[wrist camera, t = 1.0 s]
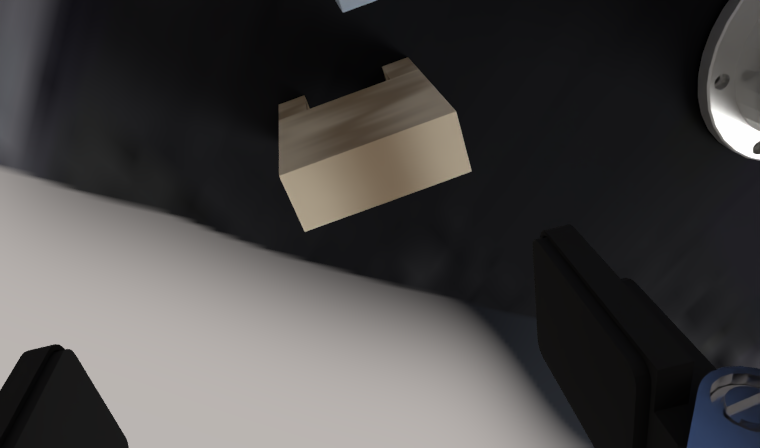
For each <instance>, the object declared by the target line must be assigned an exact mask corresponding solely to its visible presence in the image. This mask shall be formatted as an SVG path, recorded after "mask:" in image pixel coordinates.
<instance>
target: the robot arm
mask: <svg viewBox="0 0 760 448" xmlns="http://www.w3.org/2000/svg"><path fill="white" fill-rule="evenodd" d="M698 100H699V106H700V111H701V115H702V117H703V119H704V122H705V124H706V126H707V128H708V130H709V131H710V132H711V134H712V135H713V136H714V137H715V138H716V140H717V141H718V142H720V143H721V144H723V145H724V146H725V147H727V148H728V149H730V150H732V151H734V152H736V153H738V154H740V155H742V156H744V157H746V158H749V159H754V160H758V161H760V0H729V1H728V2H727V4H726V5H725V6H724V8H723V9H722V11H721V13H720V15H719V17H718V19H717V21H716V22H715V24H714V26H713V28H712V30H711V32H710V35H709V37H708V40H707V43H706V46H705V48H704V51H703V54H702V59H701V64H700V69H699V74H698ZM533 262H534V280H535V299H536V318H537V335H538V344H539V348H540V351H541V354H542V356H543V358H544V360H545V362H546V363H547V365H548V367H549V369H550V370H551V372H552V374H553V376H554V377H555V379H556V381H557V383H558V384H559V386H560V388H561V390H562V391H563V393H564V395H565V397H566V398H567V400H568V402H569V404H570V405H571V407H572V409H573V411H574V412H575V414H576V416H577V418H578V419H579V421H580V423H581V425H582V426H583V428H584V430H585V432H586V433H587V435H588V437H589V439H590V440H591V442H592V444H593V446H594V447H595V448H760V369H757V368H751V367H743V366H733V367H723V368H720V369H716V368H715V367H714V366H713V365H712V364H711V363H710V362H709V361H708V360H707V359H706V358H705V356H704V355H703V354H702V353H701V352H700V351H699V350H698V349H697V348H696V347H695V346H694V345H693V344H692V343H691V341H690V340H689V339H688V338H687V337H686V336H685V335H684V334H683V333H682V332H681V331H680V330H679V329H678V328H677V326H676V325H675V324H674V323H673V322H672V321H671V320H670V319H669V318H668V317H667V316H666V315H665V314H664V313H663V311H662V310H661V309H660V308H659V307H658V306H657V305H656V304H655V303H654V302H653V301H652V300H651V299H650V298H649V297H648V295H647V294H646V293H645V292H644V291H643V290H642V289H641V288H640V287H639V286H638V285H637V284H636V283H635V282H634V281H633V280H631V279H628V278H623V279H620V278H619V277H618V276H617V275H616V274H615V272H614V271H613V270H612V269H611V268H610V267H609V266H608V265H607V264H606V263H605V261H604V260H603V259H602V258H601V257H600V256H599V255H598V254H597V253H596V251H595V250H594V249H593V248H592V247H591V246H590V245H589V244H588V243H587V241H586V240H585V239H584V238H583V237H582V236H581V235H580V234H579V233H578V231H577V230H576V229H575V228H574V227H573V226H571V225H565V226H561V227H556V228H552V229H548V230H543V231H542V232H541V235H540V239H536V240H534V241H533ZM0 448H128V442H127V439H126V437H125V436H124V434H123V432H122V431H121V429H120V428H119V426H118V424H117V422H116V421H115V419H114V417H113V416H112V414H111V413H110V411H109V409H108V408H107V406H106V404H105V403H104V401H103V399H102V398H101V396H100V394H99V393H98V391H97V390H96V388H95V386H94V385H93V383H92V381H91V380H90V378H89V377H88V375H87V373H86V371H85V370H84V368H83V366H82V365H81V363H80V362H79V360H78V358H77V357H76V355H75V354H74V352H73V351H72V350H70V349H66V350H65V349H64V348H63V347H62V346H60V345H56V344H55V345H50V346H46V347H42V348H38V349H33V350H30V351H26V352H24V353H23V354H22V356H21V357H20V359H19V360H18V362H17V364H16V365H15V367H14V369H13V370H12V372H11V374H10V375H9V377H8V379H7V380H6V382H5V384H4V385H3V387H2V389H1V390H0Z"/></svg>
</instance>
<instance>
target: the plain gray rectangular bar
mask: <svg viewBox="0 0 760 448" xmlns="http://www.w3.org/2000/svg"><path fill="white" fill-rule="evenodd" d="M335 1H336V3H337V4H338V6H339V7H340V9H341V10H342V12H343V13H344V12H346V11H349V10H352V9H354V8H357V7H360V6H363V5H365V4H368V3H371V2H373V1H376V0H335Z"/></svg>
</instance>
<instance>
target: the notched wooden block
mask: <svg viewBox="0 0 760 448" xmlns="http://www.w3.org/2000/svg"><path fill="white" fill-rule="evenodd" d="M382 69H383V72H384V75H385V78H386V81H384V82H382V83H379V84H376V85H374V86H371V87H368V88H365V89H363V90H360V91H357V92H355V93H352V94H349V95H346V96H344V97H341V98H338V99H335V100H333V101H330V102H327V103H325V104H322V105H319V106H316V107H314V108H311V109H310V108H309V105H308V103H307V100H306V98H305V95H304V96H301V97H298V98H296V99H293V100H290V101H287V102H285V103H282V104H279V177H280V179H281V181H282V183H283V186H284V188H285V190H286V192H287V194H288V196H289V199H290V201H291V203H292V205H293V207H294V209H295V212H296V214H297V216H298V218H299V220H300V222H301V225H302V227H303V229H304V231H305V232H306V231H309V230H312V229H314V228H317V227H320V226H323V225H325V224H328V223H331V222H334V221H336V220H339V219H342V218H345V217H347V216H350V215H353V214H356V213H358V212H361V211H364V210H367V209H369V208H372V207H375V206H378V205H380V204H383V203H386V202H389V201H391V200H394V199H397V198H400V197H402V196H405V195H408V194H411V193H413V192H416V191H419V190H422V189H424V188H427V187H430V186H433V185H435V184H438V183H441V182H444V181H447V180H449V179H452V178H455V177H458V176H460V175H463V174H466V173H469V172H471V167H470V163H469V159H468V155H467V152H466V148H465V144H464V140H463V136H462V132H461V128H460V125H459V121H458V117H457V113H456V111H455V110H454V108H453V107H452V106H451V105H450V104H449V103H448V102H447V101H446V99H445V98H444V97H443V96H442V95H441V94H440V93H439V92H438V90H437V89H436V88H435V87H434V86H433V85H432V84H431V83H430V81H429V80H428V79H427V78H426V77H425V76H424V75H423V74H422V73H421V71H420V70H419V69H418V68H417V67H416V66H415V65H414V64H413V62H412V61H411V60H410V59H409V58H408V57H407V58H404V59H402V60H399V61H396V62H393V63H391V64H388V65H385V66H383V67H382Z"/></svg>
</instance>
